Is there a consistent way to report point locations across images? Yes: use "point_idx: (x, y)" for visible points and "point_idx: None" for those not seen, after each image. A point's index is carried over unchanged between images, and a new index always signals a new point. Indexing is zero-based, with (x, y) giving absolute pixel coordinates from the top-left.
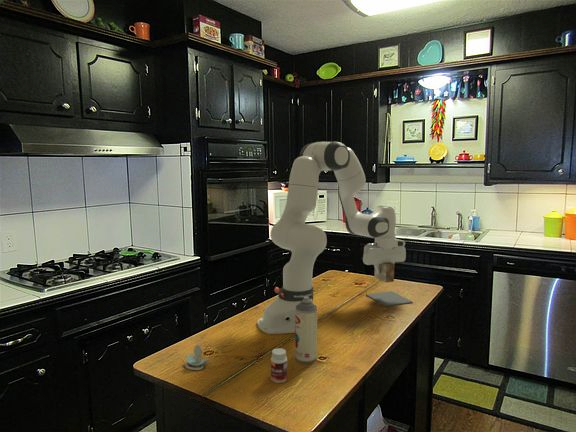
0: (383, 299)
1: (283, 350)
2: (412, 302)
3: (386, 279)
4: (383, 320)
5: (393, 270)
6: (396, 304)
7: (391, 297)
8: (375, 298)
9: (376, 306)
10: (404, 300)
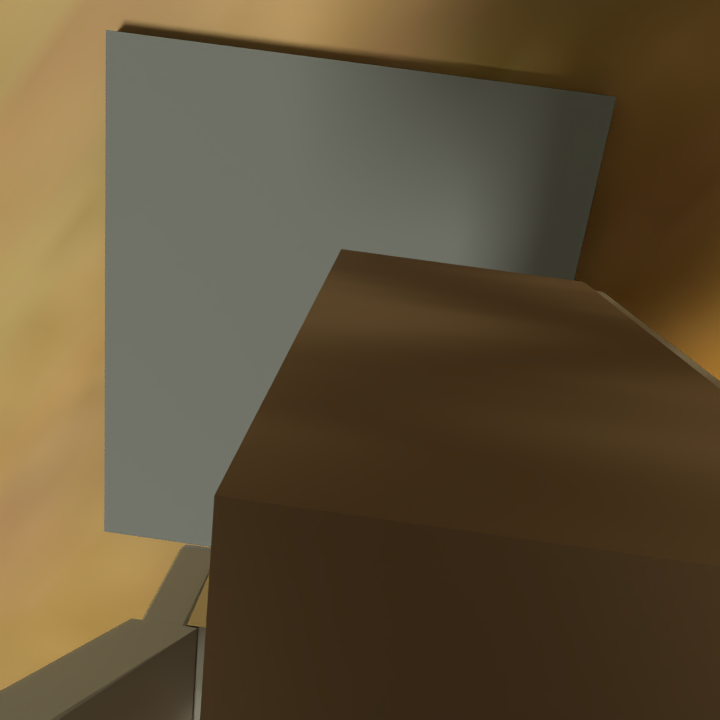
0: None
1: None
2: (116, 33)
3: (593, 298)
4: None
5: (329, 342)
6: (410, 71)
7: (281, 336)
8: None
9: (712, 175)
10: (192, 138)
